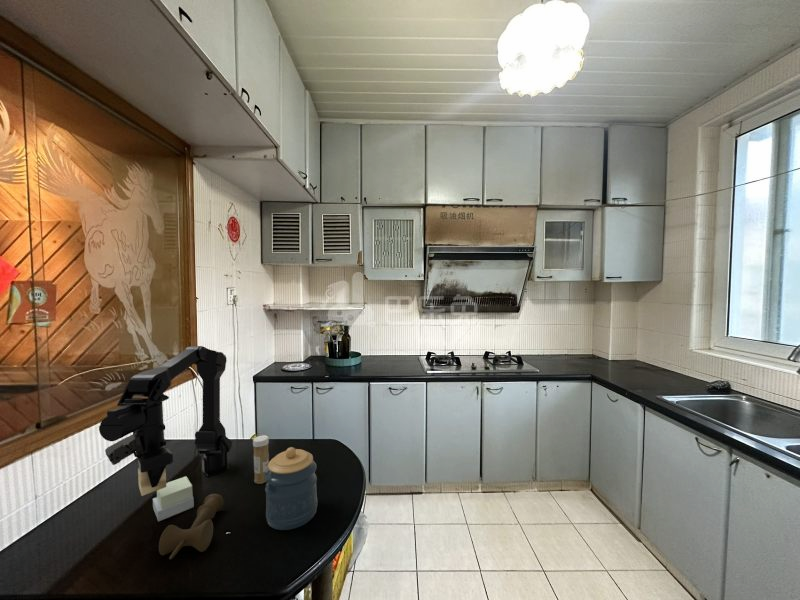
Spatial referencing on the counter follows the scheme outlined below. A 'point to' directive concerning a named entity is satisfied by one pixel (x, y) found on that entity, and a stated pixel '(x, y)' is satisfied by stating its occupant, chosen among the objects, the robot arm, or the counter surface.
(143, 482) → the maple cube
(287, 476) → the canister
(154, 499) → the base block
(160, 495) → the sage block
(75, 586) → the counter surface
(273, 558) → the counter surface
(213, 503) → the kendama
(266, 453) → the sprinkles bottle
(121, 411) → the robot arm
